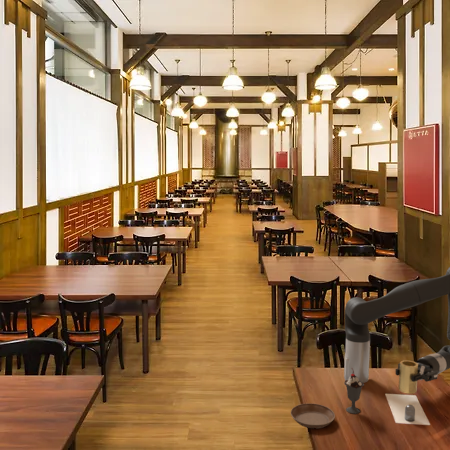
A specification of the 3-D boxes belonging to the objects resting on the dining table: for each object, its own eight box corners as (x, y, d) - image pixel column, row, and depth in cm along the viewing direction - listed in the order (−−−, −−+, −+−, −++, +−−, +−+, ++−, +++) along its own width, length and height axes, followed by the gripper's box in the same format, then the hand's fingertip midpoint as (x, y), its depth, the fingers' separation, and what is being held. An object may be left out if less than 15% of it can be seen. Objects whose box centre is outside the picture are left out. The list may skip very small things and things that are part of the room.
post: (405, 421, 178) (406, 407, 177) (403, 416, 181) (404, 402, 181) (415, 422, 178) (416, 407, 177) (413, 417, 181) (414, 403, 180)
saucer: (326, 436, 171) (326, 428, 171) (283, 425, 178) (283, 417, 178) (340, 416, 184) (340, 409, 184) (299, 407, 191) (300, 399, 191)
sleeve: (408, 395, 189) (410, 368, 188) (395, 388, 194) (396, 362, 193) (419, 391, 192) (421, 364, 191) (406, 385, 198) (407, 359, 196)
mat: (395, 425, 177) (395, 422, 177) (385, 396, 199) (385, 393, 199) (430, 427, 176) (430, 425, 176) (415, 397, 197) (415, 395, 197)
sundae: (349, 404, 192) (351, 364, 191) (366, 410, 188) (367, 369, 186) (339, 410, 188) (340, 369, 186) (356, 417, 183) (357, 375, 181)
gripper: (415, 349, 206) (388, 359, 196) (449, 361, 195) (422, 372, 185) (414, 368, 207) (387, 378, 197) (448, 381, 196) (421, 392, 186)
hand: (404, 375), depth 191 cm, fingers closed on sleeve, 6 cm apart
